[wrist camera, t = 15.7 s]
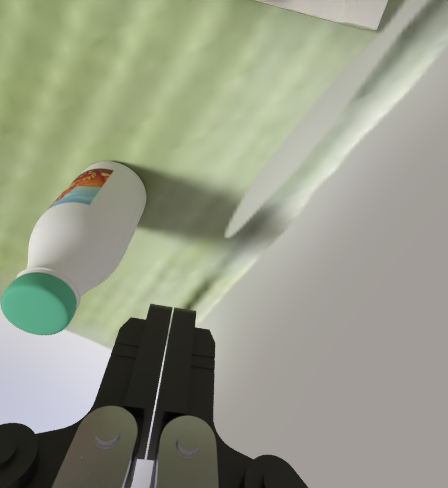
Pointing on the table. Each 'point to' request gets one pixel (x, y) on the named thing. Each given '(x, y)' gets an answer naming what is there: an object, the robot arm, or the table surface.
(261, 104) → the table surface
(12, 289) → the milk bottle
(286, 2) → the white trough
